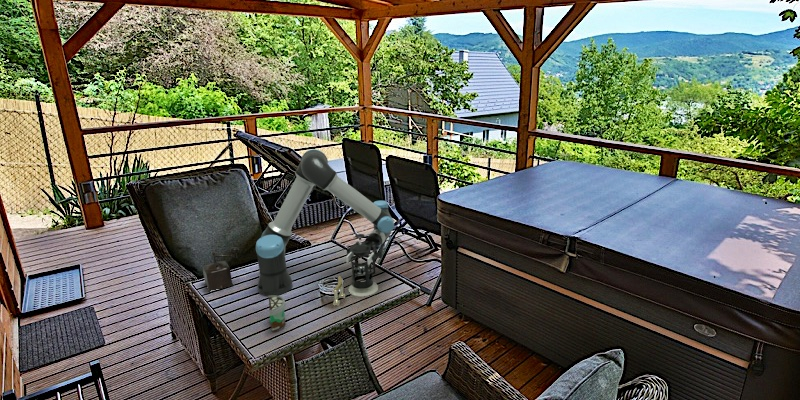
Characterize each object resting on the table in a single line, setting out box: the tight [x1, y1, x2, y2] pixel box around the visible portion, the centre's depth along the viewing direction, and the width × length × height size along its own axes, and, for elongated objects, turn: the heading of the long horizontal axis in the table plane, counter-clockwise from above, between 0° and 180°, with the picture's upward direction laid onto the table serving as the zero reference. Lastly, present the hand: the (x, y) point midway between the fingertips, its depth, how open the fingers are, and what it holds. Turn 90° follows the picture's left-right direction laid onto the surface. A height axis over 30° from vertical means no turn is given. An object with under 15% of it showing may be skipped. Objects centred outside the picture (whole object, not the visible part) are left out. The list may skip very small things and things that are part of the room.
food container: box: [267, 295, 287, 333], centre depth 173 cm, size 12×6×10 cm, turn 17°
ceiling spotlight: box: [332, 275, 346, 307], centre depth 191 cm, size 4×13×7 cm, turn 179°
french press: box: [350, 233, 376, 289], centre depth 194 cm, size 12×9×23 cm
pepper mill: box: [202, 246, 240, 291], centre depth 205 cm, size 16×11×18 cm
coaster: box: [348, 280, 379, 298], centre depth 198 cm, size 13×13×1 cm
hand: (357, 260), depth 189 cm, fingers closed on french press, 9 cm apart
